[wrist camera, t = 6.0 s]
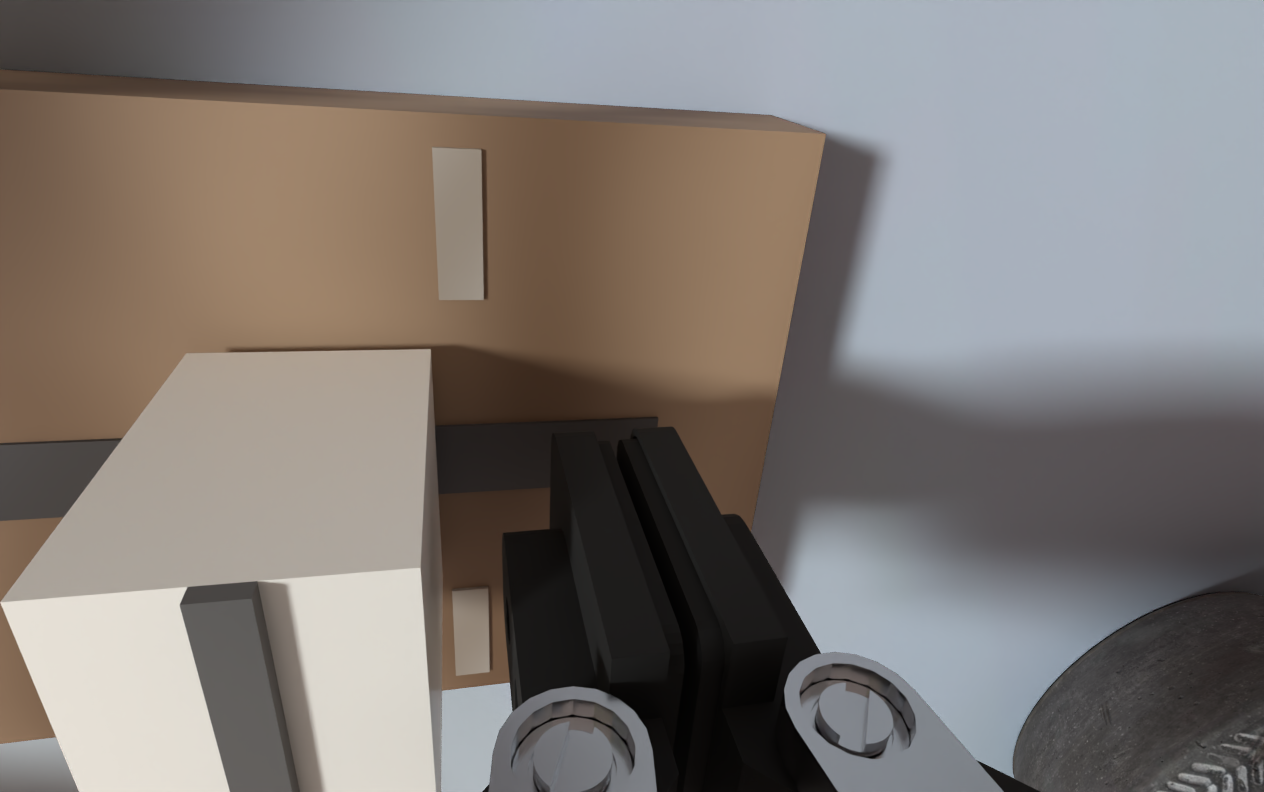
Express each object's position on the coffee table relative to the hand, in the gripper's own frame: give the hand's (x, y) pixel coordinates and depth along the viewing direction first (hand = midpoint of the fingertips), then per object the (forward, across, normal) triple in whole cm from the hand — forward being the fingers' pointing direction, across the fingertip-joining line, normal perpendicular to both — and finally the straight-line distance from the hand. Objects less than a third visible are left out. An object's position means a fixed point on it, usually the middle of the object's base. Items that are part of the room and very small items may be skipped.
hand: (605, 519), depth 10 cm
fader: (+1, +4, 0) cm, 4 cm away
